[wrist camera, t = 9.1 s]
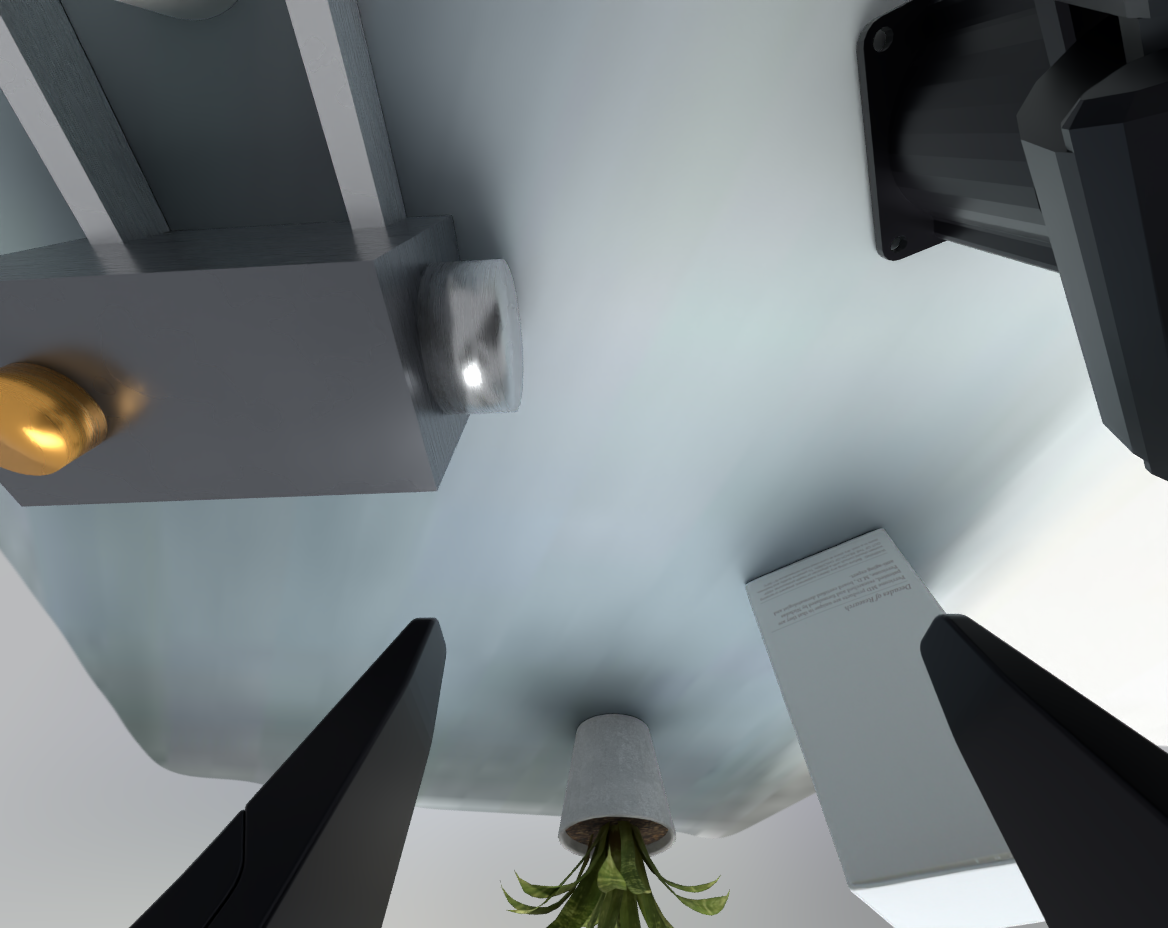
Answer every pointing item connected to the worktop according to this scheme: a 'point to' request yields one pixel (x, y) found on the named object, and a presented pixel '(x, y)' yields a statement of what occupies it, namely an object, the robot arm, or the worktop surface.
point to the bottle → (184, 7)
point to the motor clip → (235, 310)
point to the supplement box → (885, 740)
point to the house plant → (614, 831)
